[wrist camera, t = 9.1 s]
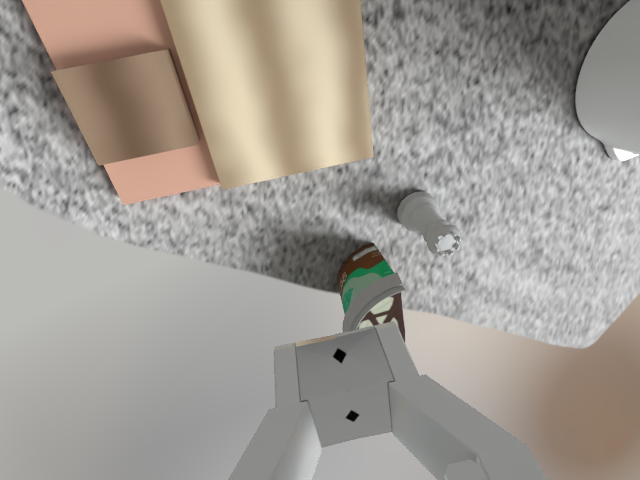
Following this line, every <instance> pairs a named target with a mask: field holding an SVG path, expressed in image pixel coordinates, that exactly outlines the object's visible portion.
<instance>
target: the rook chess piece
mask: <svg viewBox="0 0 640 480" xmlns="http://www.w3.org/2000/svg"><path fill="white" fill-rule="evenodd" d="M439 211H440V210H439V206H438V203H437V201H436V200H435V199H434V198H433V197H432V196H431V195H430V194H429V193H426V192H423V191H421V192H414V193H412V194H410V195H408V196H407V197H406V198H405V199H403V200H402V201H401V203H400V205H399V207H398V212H397V217H398V219H399V222H400V223H401V224H402V225H403V226H404V227H405V228H406V229H408V230H410V231H413V232H419V233H421V234H422V235H423V237H424V240H425V241H426V242H427V245H428V248H429V250H430V251H431V252H432V253H435V254H439V255H440V256H445V254H446V253H447V254H448V255H449V256H450V255H452V254H454V253H453V251H452V250H454V249H457V250H458V249H459V248H460V244H459V242H461V237H460V232H459V229H458V228H457V227H456V226H453V225H450V224H449V223H448V222H447V221H446V220H442V218H441V217H440V213H439Z"/></svg>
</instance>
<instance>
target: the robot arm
mask: <svg viewBox="0 0 640 480" xmlns="http://www.w3.org/2000/svg"><path fill="white" fill-rule="evenodd" d="M575 101H576V111H577V115H578V119H579V121H580V123H581V125H582V127H583V128H584V129H585V131H586V132H587V133H589V134H590V135H591V136H593V137H594V138H596V139H598V140H600V141H601V142H602V143H603V144H604V146H605V149H606V151H607V153H608V155H609V157H610V158H611V159H614V160H619V161H625V160H628V159H630V158H633V157H635V156H638V155H640V0H630V1H629V2H627V3H626V4H625V5H624V6H623V7H622V8H621V9H620V10H619V11H618V12H617V13H616V14H615V15H614V16H613V17H612V18H611V19H610V20H609V21H608V23H607V24H606V25H605V26H604V28H603V29H602V30H601V32H600V33H599V35H598V36H597V38H596V39H595V41H594V42H593V44H592V46H591V48H590V50H589V52H588V53H587V56H586V58H585V60H584V63H583V65H582V68H581V71H580V74H579V78H578V82H577V87H576V99H575ZM274 373H275V405H276V408H272V409H269V411H268V412H267V414H266V416H265V418H264V419H263V421H262V423H261V424H260V426H259V428H258V429H257V431H256V433H255V435H254V437H253V438H252V440H251V442H250V443H249V445H248V447H247V448H246V450H245V452H244V454H243V455H242V457H241V459H240V461H239V463H238V464H237V466H236V467H235V469H234V471H233V473H232V474H231V476H230V478H229V480H312V477H313V474H314V471H315V469H316V466H317V463H318V460H319V457H320V454H321V451H322V447H326V446H330V445H334V444H337V443H342V442H346V441H349V440H353V439H357V438H362V437H367V436H373V435H378V434H383V433H388V432H393V434H394V435H395V436H396V437H397V438H398V439H399V440H400V442H401V443H402V444H403V445H404V446H406V448H407V449H408V450H409V451H410V452H411V453H412V454H413V455H414V456H415V457H416V458H417V459H418V460H419V461H420V462H421V463H422V464H423V465H424V466H425V467H426V468H427V469H428V470H429V471H430V472H431V473H432V474H433V475H434V476H435V478H437V480H548V479H547V478H546V476H545V474H544V473H543V471H542V469H541V468H540V466H539V465H538V463H537V461H536V460H535V458H534V457H533V455H532V453H531V452H530V450H529V448H528V447H527V445H526V444H524V443H523V442H521V441H520V440H519V439H517V438H516V437H514V436H513V435H511V434H510V433H508V432H507V431H506V430H504V429H503V428H501V427H500V426H498V425H497V424H496V423H494V422H493V421H491V420H490V419H488V418H487V417H486V416H484V415H482V414H481V413H480V412H478V411H477V410H476V409H474V408H473V407H471V406H470V405H468V404H467V403H465V402H464V401H463V400H461V399H460V398H458V397H457V396H455V395H454V394H453V393H451V392H450V391H448V390H447V389H445V388H444V387H443V386H441V385H440V384H438V383H437V382H435V381H434V380H432V379H431V378H430V377H428V376H427V375H422V376H419V374H418V372H417V369H416V367H415V365H414V363H413V360H412V358H411V356H410V354H409V351H408V349H407V347H406V344H405V342H404V340H403V338H402V335H401V333H400V331H399V329H398V326H397V324H396V323H395V322H394V321H393V322H388V323H384V324H379V325H375V326H370V327H365V328H361V329H356V330H352V331H348V332H343V333H339V334H335V335H332V336H327V337H322V338H316V339H311V340H306V341H300V342H296V343H292V344H286V345H281V346H276V347H275V350H274Z"/></svg>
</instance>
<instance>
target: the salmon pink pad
mask: <svg viewBox="0 0 640 480" xmlns="http://www.w3.org/2000/svg"><path fill="white" fill-rule="evenodd" d="M22 2H23V4H24V6H25V8H26V10H27V12H28V14H29V16H30V18H31V20H32V22H33V24H34V26H35V28H36V30H37V32H38V34H39V36H40V38H41V40H42V42H43V44H44V46H45V48H46V50H47V52H48V54H49V56H50V58H51V60H52V62H53V64H54V66H55V68H56V70H60V69H64V68H70V67H75V66H80V65H85V64H91V63H96V62H101V61H106V60H112V59H117V58H122V57H128V56H133V55H138V54H143V53H149V52H154V51H159V50H164V49H170V51H171V54H172V56H173V59H174V62H175V65H176V68H177V71H178V74H179V77H180V80H181V83H182V86H183V89H184V92H185V95H186V98H187V101H188V104H189V107H190V110H191V113H192V116H193V119H194V122H195V125H196V128H197V131H198V134H199V137H200V140H199V143H198V145H196V146H191V147H186V148H181V149H177V150H172V151H167V152H162V153H157V154H152V155H148V156H143V157H138V158H133V159H128V160H124V161H119V162H114V163H109V164H104V167H105V169H106V171H107V173H108V175H109V177H110V179H111V181H112V183H113V185H114V187H115V189H116V191H117V193H118V195H119V197H120V199H121V201H122V203H123V205H126V204H131V203H135V202H140V201H145V200H149V199H154V198H158V197H163V196H168V195H172V194H177V193H182V192H186V191H191V190H196V189H200V188H205V187H210V186H214V185H219V184H220V181H219V178H218V175H217V172H216V169H215V166H214V163H213V160H212V157H211V154H210V150H209V147H208V144H207V141H206V138H205V135H204V132H203V129H202V126H201V123H200V120H199V117H198V114H197V111H196V108H195V105H194V102H193V99H192V96H191V92H190V89H189V86H188V83H187V80H186V77H185V74H184V71H183V68H182V65H181V62H180V59H179V56H178V53H177V50H176V47H175V44H174V41H173V38H172V34H171V31H170V28H169V25H168V22H167V19H166V16H165V13H164V10H163V7H162V4H161V1H160V0H22Z"/></svg>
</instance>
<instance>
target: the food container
mask: <svg viewBox="0 0 640 480" xmlns="http://www.w3.org/2000/svg"><path fill="white" fill-rule="evenodd" d="M338 287H339V291H340V296H341V300H342V304H343V308H344V313H345V317H344V321H343V332H348V331H352V330H356V329H361V328H365V327H370V326H375V325H379V324H384V323H388V322H393V321H394V322H395V323H396V324H397V326H398V329H399V331H400V333H401V335H402V338H403V340H404V342H405V328H404V320H403V311H402V300H401V292H403V291H405V289H404V287H403V284H402V282H401V280H400V278H399V276H398V274H397V273H394V272H393V271H392V269H391V268H390V266H389V265H388V263H387V262H386V260H385V259H384V258H383V256H382V255H381V253H380V252H379V250H378V249H377V247H376V246H375V244H374V243H372V244H369V245H366V246H364V247H362V248H360V249H359V250H357V251H355V252H354V253H352V254H351V255H350V256H349V257H348V258H347V259H346V260H345V261H344V263H343V265H342V267H341V269H340V271H339V274H338Z"/></svg>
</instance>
